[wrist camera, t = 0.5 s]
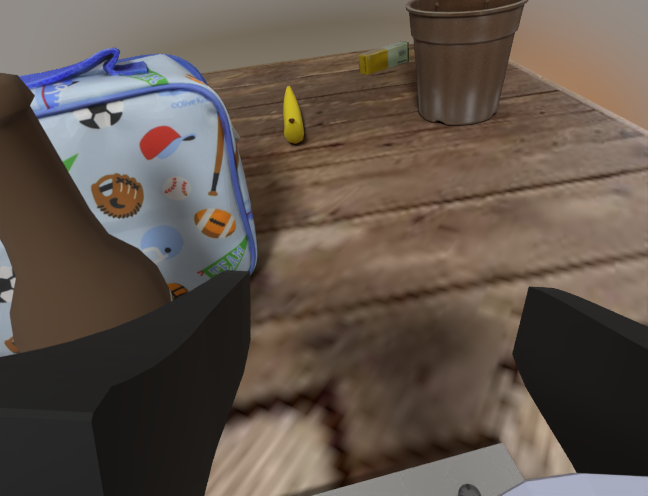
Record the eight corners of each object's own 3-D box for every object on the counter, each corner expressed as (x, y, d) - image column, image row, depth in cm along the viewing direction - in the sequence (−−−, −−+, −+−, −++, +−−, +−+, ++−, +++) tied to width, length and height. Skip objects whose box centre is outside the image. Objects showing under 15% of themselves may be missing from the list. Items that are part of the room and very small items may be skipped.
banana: (301, 113, 78) (296, 76, 74) (308, 161, 62) (302, 117, 59) (284, 115, 78) (278, 78, 74) (287, 164, 62) (280, 120, 59)
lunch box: (256, 230, 50) (205, 12, 37) (287, 285, 42) (238, 33, 29) (-18, 318, 42) (-205, 85, 29) (-41, 404, 35) (-311, 139, 21)
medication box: (401, 59, 98) (400, 40, 96) (409, 61, 96) (409, 41, 94) (358, 74, 93) (357, 53, 91) (367, 76, 91) (366, 55, 89)
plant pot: (432, 140, 64) (438, 16, 54) (389, 105, 76) (388, -1, 67) (532, 119, 66) (556, -4, 57) (475, 88, 79) (486, -16, 69)
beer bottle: (188, 368, 35) (45, 45, 21) (245, 432, 30) (109, 69, 16) (91, 435, 31) (-169, 95, 17) (138, 520, 27) (-169, 146, 12)
